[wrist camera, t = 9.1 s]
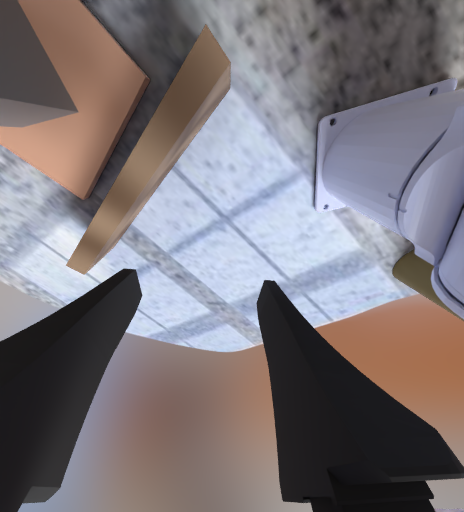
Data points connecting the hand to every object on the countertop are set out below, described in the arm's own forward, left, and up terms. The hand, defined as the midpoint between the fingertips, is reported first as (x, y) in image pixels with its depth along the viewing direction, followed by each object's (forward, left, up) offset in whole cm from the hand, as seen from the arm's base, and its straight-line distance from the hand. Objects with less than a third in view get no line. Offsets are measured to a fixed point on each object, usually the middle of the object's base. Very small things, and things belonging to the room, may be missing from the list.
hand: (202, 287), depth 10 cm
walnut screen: (+5, -5, -10) cm, 13 cm away
